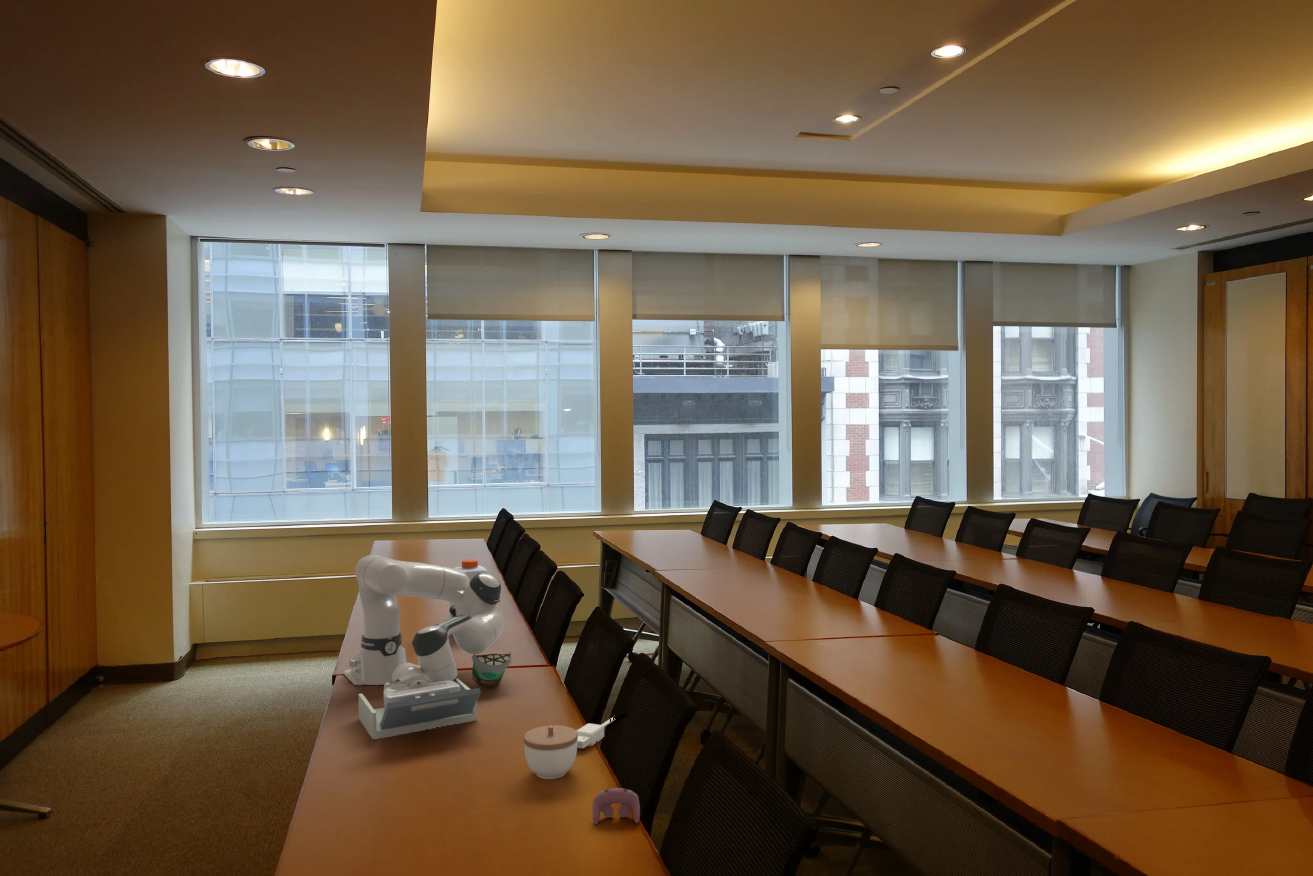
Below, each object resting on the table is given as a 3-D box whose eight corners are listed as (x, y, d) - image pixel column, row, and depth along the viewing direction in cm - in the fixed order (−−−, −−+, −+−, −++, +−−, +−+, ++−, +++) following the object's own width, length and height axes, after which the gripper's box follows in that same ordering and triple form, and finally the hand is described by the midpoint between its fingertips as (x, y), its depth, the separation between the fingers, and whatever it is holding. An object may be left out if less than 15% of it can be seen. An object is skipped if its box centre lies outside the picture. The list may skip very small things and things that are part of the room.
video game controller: (640, 823, 185) (639, 787, 188) (640, 823, 181) (639, 786, 184) (592, 825, 185) (592, 789, 188) (592, 824, 181) (592, 788, 184)
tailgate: (380, 724, 231) (387, 703, 223) (469, 708, 243) (479, 687, 235) (381, 732, 230) (388, 711, 222) (471, 716, 241) (481, 695, 234)
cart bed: (358, 719, 245) (358, 694, 245) (457, 701, 259) (457, 678, 259) (372, 739, 230) (372, 713, 229) (477, 720, 243) (477, 695, 243)
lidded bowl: (528, 787, 200) (527, 739, 199) (520, 766, 212) (520, 720, 212) (583, 780, 203) (582, 732, 203) (572, 759, 215) (572, 714, 215)
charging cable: (637, 715, 250) (637, 703, 250) (584, 752, 220) (585, 738, 220) (621, 713, 252) (621, 701, 252) (566, 749, 222) (567, 735, 222)
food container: (470, 691, 268) (476, 667, 264) (466, 676, 273) (472, 653, 269) (509, 689, 274) (516, 665, 269) (505, 674, 279) (512, 651, 274)
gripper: (453, 694, 250) (467, 708, 238) (379, 707, 240) (389, 722, 228) (453, 672, 250) (466, 684, 238) (378, 684, 240) (389, 698, 228)
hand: (428, 703), depth 233 cm, fingers closed, pressing on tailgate
